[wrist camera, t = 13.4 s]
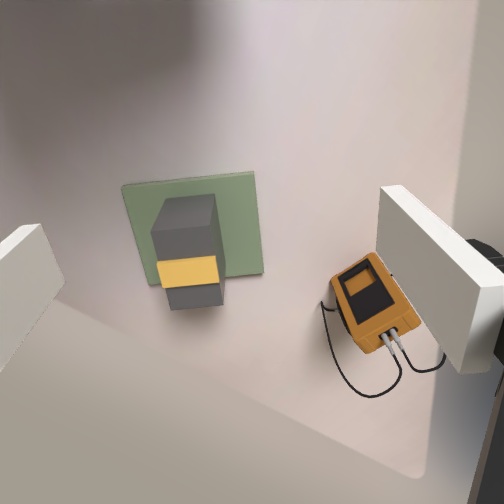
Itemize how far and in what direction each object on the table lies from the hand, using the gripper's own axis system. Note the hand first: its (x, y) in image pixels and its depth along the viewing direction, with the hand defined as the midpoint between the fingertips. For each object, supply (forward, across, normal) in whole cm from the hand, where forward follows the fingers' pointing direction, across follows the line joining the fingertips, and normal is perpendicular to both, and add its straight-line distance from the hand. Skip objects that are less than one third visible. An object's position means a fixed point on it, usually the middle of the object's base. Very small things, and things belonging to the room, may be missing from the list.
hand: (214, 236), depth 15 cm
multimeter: (+31, +17, -26) cm, 44 cm away
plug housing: (+29, -6, -14) cm, 33 cm away
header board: (+31, -6, -14) cm, 34 cm away
